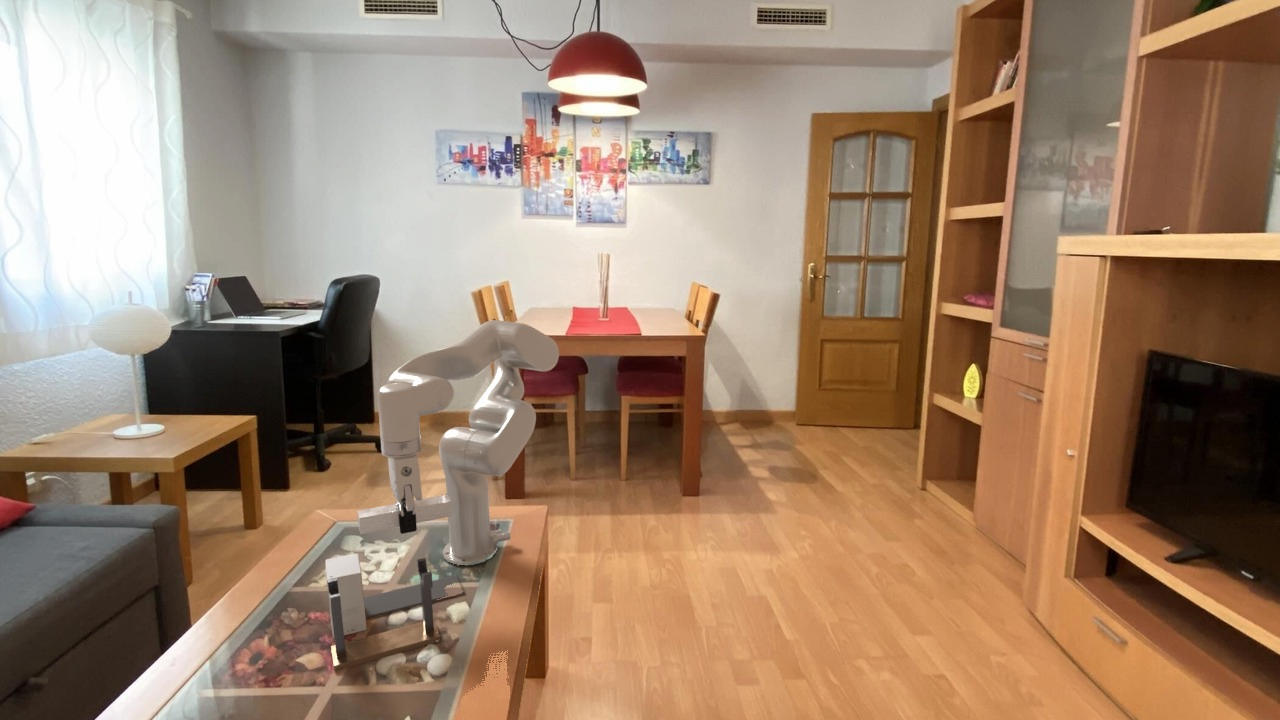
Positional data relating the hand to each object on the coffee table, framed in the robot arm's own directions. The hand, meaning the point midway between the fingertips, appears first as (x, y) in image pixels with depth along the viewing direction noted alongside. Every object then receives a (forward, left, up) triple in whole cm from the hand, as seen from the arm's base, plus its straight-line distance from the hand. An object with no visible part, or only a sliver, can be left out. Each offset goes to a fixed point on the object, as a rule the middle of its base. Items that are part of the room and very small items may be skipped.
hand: (406, 526), depth 143 cm
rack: (+7, +14, -17) cm, 23 cm away
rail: (0, 0, +1) cm, 1 cm away
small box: (+13, +3, -17) cm, 22 cm away
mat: (0, 0, -17) cm, 17 cm away
